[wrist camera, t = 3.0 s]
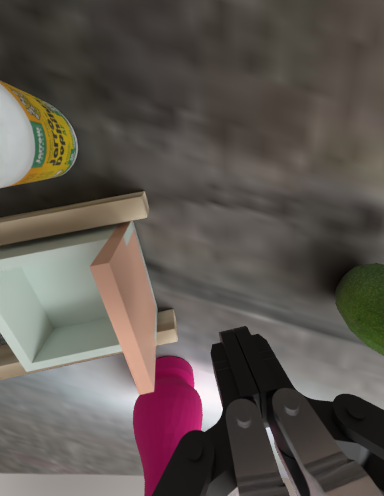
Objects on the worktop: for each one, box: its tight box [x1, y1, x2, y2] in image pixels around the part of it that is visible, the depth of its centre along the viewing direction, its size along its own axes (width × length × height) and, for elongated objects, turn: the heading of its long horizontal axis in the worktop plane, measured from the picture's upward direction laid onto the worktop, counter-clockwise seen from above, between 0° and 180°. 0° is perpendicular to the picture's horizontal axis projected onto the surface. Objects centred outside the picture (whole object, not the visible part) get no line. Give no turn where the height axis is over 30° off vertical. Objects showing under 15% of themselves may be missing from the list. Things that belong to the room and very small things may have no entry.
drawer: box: [0, 220, 158, 395], centre depth 17 cm, size 10×11×9 cm
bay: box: [0, 191, 178, 380], centre depth 20 cm, size 14×25×3 cm, turn 99°
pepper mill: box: [133, 356, 203, 496], centre depth 18 cm, size 7×7×20 cm
